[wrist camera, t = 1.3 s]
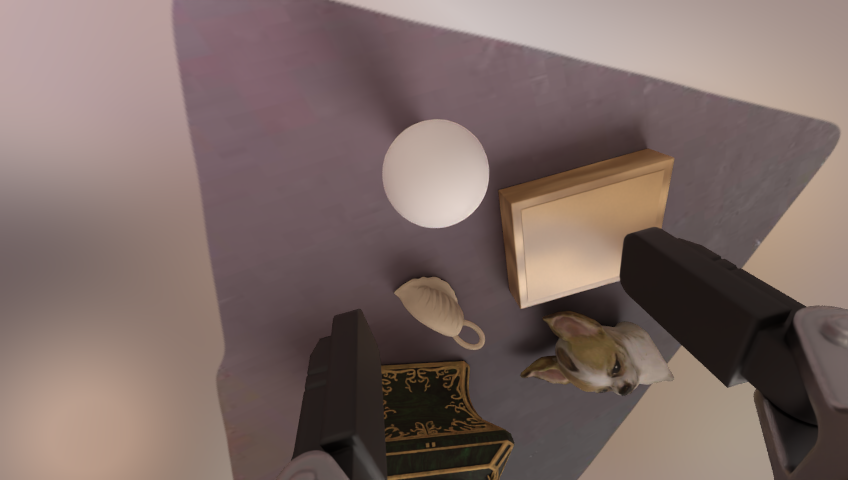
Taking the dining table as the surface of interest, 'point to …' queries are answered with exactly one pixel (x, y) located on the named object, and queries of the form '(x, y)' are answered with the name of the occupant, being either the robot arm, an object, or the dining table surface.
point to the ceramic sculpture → (599, 356)
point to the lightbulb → (435, 173)
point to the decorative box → (438, 426)
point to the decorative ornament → (437, 308)
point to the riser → (579, 224)
